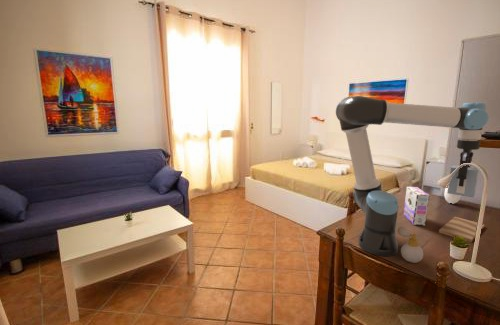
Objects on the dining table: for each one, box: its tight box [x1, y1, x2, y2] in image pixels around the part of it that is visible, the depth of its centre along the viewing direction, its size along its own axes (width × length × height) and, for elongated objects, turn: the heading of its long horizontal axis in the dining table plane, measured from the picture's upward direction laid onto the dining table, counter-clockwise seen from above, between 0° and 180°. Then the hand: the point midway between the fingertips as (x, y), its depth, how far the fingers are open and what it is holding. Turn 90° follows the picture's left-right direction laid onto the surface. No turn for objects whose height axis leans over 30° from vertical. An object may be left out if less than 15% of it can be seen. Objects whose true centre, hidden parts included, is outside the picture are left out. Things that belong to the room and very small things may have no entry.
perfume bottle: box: [397, 226, 424, 264], centre depth 100 cm, size 8×10×12 cm
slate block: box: [447, 165, 480, 199], centre depth 114 cm, size 5×9×12 cm, turn 44°
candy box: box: [403, 186, 430, 226], centre depth 134 cm, size 14×6×16 cm, turn 168°
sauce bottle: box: [444, 187, 462, 205], centre depth 156 cm, size 8×8×18 cm
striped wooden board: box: [438, 216, 485, 243], centre depth 125 cm, size 24×12×1 cm, turn 128°
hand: (461, 191), depth 115 cm, fingers closed on slate block, 5 cm apart
